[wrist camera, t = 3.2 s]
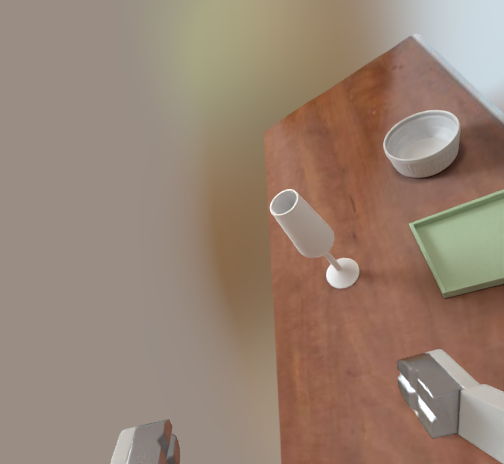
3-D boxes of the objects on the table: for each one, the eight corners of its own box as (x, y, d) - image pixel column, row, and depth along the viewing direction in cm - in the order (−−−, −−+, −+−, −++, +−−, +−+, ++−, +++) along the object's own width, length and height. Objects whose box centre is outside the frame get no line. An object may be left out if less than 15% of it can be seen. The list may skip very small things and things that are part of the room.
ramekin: (378, 166, 67) (369, 144, 63) (427, 127, 65) (421, 102, 61) (422, 193, 57) (415, 170, 53) (481, 149, 55) (479, 120, 51)
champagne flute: (361, 257, 58) (309, 180, 42) (356, 289, 55) (298, 219, 39) (329, 257, 62) (270, 187, 46) (323, 287, 59) (259, 223, 43)
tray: (537, 184, 47) (538, 176, 45) (608, 258, 38) (612, 250, 36) (411, 229, 55) (408, 223, 54) (444, 298, 46) (442, 293, 44)
